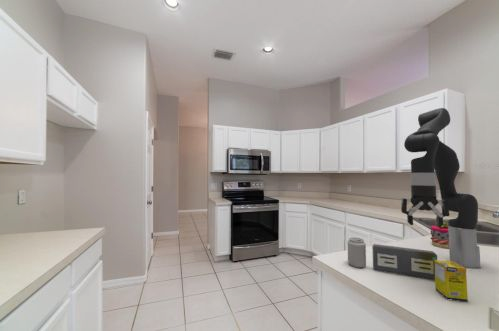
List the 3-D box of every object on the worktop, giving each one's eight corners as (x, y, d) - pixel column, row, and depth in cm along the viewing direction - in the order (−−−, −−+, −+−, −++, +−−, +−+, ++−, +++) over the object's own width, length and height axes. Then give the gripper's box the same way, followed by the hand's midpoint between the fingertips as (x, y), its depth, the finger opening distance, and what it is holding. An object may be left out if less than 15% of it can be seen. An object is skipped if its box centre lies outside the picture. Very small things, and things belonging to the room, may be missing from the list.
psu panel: (435, 277, 83) (434, 251, 84) (439, 281, 80) (437, 254, 81) (372, 267, 93) (372, 243, 93) (374, 270, 89) (373, 245, 90)
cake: (427, 244, 124) (426, 219, 124) (436, 242, 128) (435, 218, 129) (450, 250, 114) (448, 223, 115) (458, 247, 118) (457, 221, 119)
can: (365, 270, 90) (365, 242, 90) (347, 266, 94) (346, 239, 94) (366, 264, 96) (365, 238, 97) (348, 260, 100) (348, 235, 101)
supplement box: (468, 302, 67) (466, 268, 68) (447, 299, 68) (445, 266, 69) (454, 292, 73) (453, 261, 73) (435, 290, 74) (433, 259, 75)
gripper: (442, 184, 81) (444, 225, 80) (398, 183, 87) (400, 222, 86) (451, 185, 74) (453, 230, 73) (403, 184, 80) (405, 226, 79)
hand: (424, 225), depth 80 cm, fingers open, 8 cm apart
